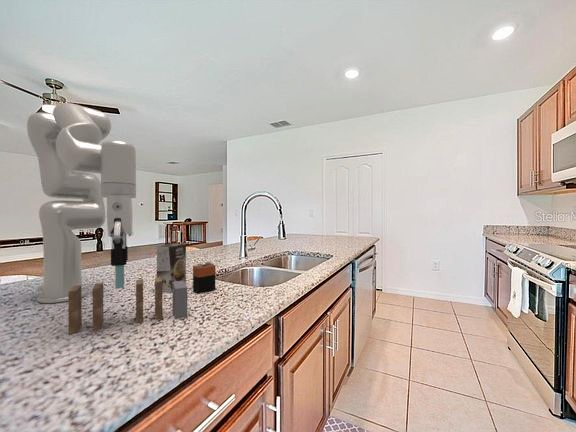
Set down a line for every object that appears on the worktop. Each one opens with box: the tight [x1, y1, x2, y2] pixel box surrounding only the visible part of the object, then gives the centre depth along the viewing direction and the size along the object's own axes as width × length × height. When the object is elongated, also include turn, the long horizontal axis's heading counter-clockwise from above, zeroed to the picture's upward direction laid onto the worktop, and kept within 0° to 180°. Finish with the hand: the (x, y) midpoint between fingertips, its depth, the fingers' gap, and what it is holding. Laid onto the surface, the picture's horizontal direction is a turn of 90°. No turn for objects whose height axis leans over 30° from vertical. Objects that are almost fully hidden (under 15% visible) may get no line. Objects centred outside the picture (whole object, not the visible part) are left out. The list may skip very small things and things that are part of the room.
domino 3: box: [114, 265, 125, 290], centre depth 69 cm, size 2×5×10 cm, turn 28°
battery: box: [192, 261, 216, 294], centre depth 97 cm, size 4×7×10 cm, turn 137°
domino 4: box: [135, 278, 144, 324], centre depth 71 cm, size 2×5×10 cm, turn 28°
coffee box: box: [156, 243, 187, 293], centre depth 100 cm, size 9×6×16 cm
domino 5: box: [154, 277, 164, 321], centre depth 73 cm, size 2×5×10 cm, turn 28°
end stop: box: [171, 281, 188, 320], centre depth 76 cm, size 3×8×8 cm, turn 28°
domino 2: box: [91, 282, 104, 331], centre depth 67 cm, size 2×5×10 cm, turn 28°
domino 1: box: [67, 285, 83, 335], centre depth 65 cm, size 2×5×10 cm, turn 28°
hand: (119, 262), depth 69 cm, fingers closed on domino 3, 4 cm apart
